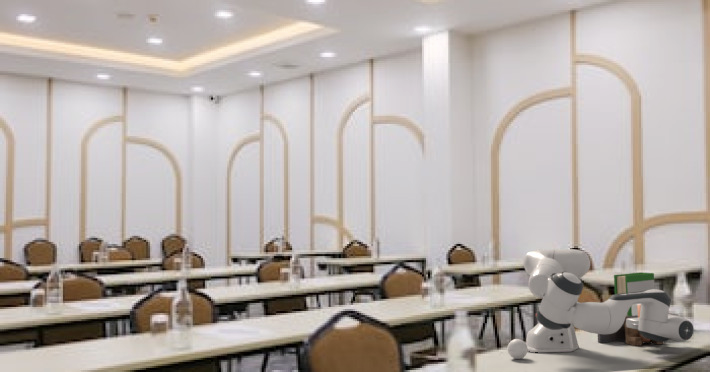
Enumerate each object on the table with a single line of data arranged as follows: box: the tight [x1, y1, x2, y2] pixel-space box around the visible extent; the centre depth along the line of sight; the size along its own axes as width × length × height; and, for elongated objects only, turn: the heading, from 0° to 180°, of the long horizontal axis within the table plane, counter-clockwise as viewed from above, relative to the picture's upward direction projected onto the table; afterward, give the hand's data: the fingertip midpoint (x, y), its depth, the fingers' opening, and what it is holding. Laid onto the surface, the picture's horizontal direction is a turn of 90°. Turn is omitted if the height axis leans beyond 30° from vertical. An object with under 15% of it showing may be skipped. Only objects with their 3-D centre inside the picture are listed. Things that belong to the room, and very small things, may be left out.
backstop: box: [597, 315, 638, 344], centre depth 298 cm, size 30×2×10 cm, turn 99°
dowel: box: [637, 305, 650, 341], centre depth 290 cm, size 4×4×14 cm
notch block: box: [625, 323, 664, 347], centre depth 290 cm, size 12×7×8 cm, turn 99°
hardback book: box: [613, 271, 655, 316], centre depth 333 cm, size 18×7×24 cm, turn 118°
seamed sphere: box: [501, 338, 529, 360], centre depth 270 cm, size 10×7×7 cm
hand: (642, 319), depth 291 cm, fingers closed on dowel, 4 cm apart
